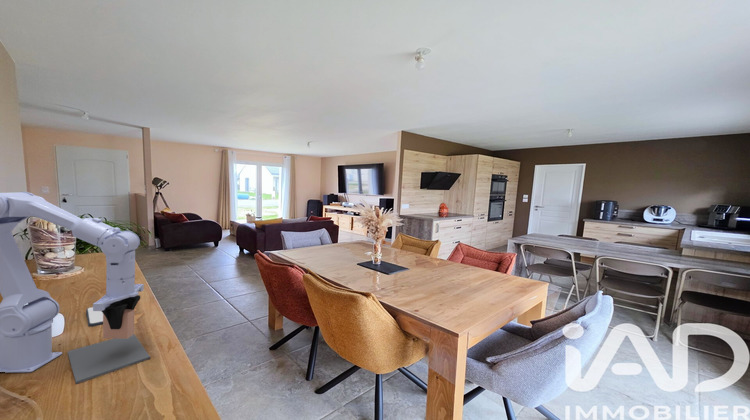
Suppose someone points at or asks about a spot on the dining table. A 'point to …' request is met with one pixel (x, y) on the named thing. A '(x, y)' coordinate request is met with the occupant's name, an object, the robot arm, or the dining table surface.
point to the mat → (106, 357)
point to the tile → (126, 326)
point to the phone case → (94, 317)
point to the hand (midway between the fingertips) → (120, 325)
